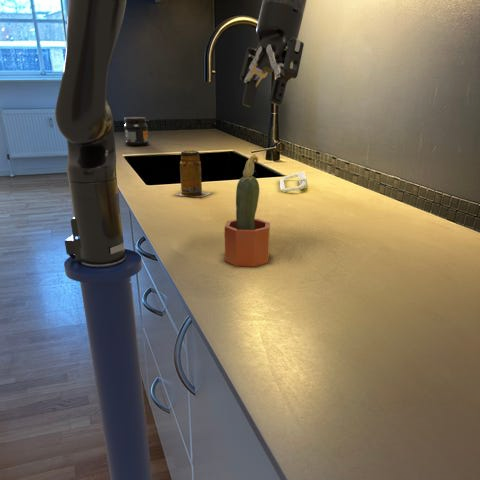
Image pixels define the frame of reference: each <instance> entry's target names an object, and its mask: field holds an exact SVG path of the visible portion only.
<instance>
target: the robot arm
mask: <svg viewBox="0 0 480 480" xmlns="http://www.w3.org/2000/svg"><path fill="white" fill-rule="evenodd" d="M127 1H128V0H68V9H67V22H66V23H67V24H66V46H65V47H66V49H65V59H64V64H63V70H62V71H63V72H62V74H61V80H60V86H59V90H58V95H57V98H56V102H55V108H54V118H55V124H56V126H57V129H58V130H59V132H60V134H61V136H62V137H64V138H65V140H66V143H67V162H66V173H67V179H68V185H69V192H70V199H71V206H72V213H73V217H72V218H71V219H70V227H71V233H72V234H71V235H70V236H68V237H67V238H66V239H65V240H64V247H65V251H66V252H65V254H66V255H68V256H69V257H71V258H72V259H74V258H75V254H76V260H77V264H78V265H83V266H86V267H91V268H106V267H112V266H116V265H119V264H121V263H123V262H124V261H125V260H126V255H125V249H126V248H125V242H124V232H123V223H122V213H121V205H120V196H119V187H118V186H119V185H118V177H117V150H116V149H117V148H116V140H115V138H116V137H115V128H114V127H115V126H114V119H113V113H112V112H113V111H112V109H111V107H110V104H109V102H108V100H107V87H108V78H109V77H108V76H109V69H110V64H111V61H112V57H113V54H114V51H115V48H116V45H117V42H118V40H119V36H120V32H121V29H122V25H123V21H124V18H125V14H126V13H125V12H126V8H127ZM306 4H307V0H262V2H261V7H260V10H259V15H258V20H257V25H256V29H255V31H256V32H255V33H256V35H257V37H258V39H259V42H258V44H257V47H256V48H253V47H251V46H249V47H247V49H246V52H245V56H244V60H243V63H242V67H241V71H240V75H239V80H240V81H242V82H243V83H244V84H245V85H244V90H243V95H242V99H241V100H242V101H241V103H242V105H243V106H245V107H247V108H252V107H254V104H255V100H256V95H257V91H258V85H259V84H260V82H261V81H262V79H265V78H266V77H267V76H268V74H269V73H272V72H274V77H275V78H274V79H273V82H272V86H271V90H270V95H269V103H271V104H273V105H275V106H281V104H282V103H283V100H284V96H285V92H286V87H287V84H289V83H290V81H291V79H296V78H297V77H298V75H299V70H300V65H301V60H302V55H303V52H304V51H303V50H304V47H305V46H304V45H305V44H304V42H303V41H301V40H300V39H298V38H299V34H300V30H301V27H302V26H301V25H302V21H303V17H304V15H305V14H304V13H305V9H306ZM291 63H292V68H291ZM247 72H248V73H247Z"/></svg>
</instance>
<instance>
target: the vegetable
mask: <svg viewBox="0 0 480 480" xmlns="http://www.w3.org/2000/svg"><path fill="white" fill-rule="evenodd" d="M247 159H248V160H246V162H245V166H244V169H243V171H242V177H241V178H239V180H238V181H237V185H236V190H235V191H236V192H235V214H236V215H235V217H236V219H237V229H238V230H255V226H254V222H255V219H256V218H255V217H256V213H257V209H258V204H259V198H260V184H259V180H258V179H257V178H256V177H255V176H253V175H254V174H255V173H254V172H255V163H256V164H257V163H258V162H259V158H258V156H257V155H256V154H255V153H254V154H253V155H250V157H248V158H247ZM236 219H235V220H236Z"/></svg>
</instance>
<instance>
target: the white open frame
mask: <svg viewBox="0 0 480 480" xmlns="http://www.w3.org/2000/svg"><path fill="white" fill-rule="evenodd" d="M293 178H297V179H298V183H299V185H296V186H293V187H286V186H285V181H286V180H290V179H293ZM279 183H280V184H279V185H280V186H279V187H280V191H281V192H282V193H290V192H295V191H298V190H299V191H300V190H303V189H306V188H309V184H308V179H307V175H306V173H305V171H304V170H303V171H299V172H298V171H296V173H293V174H289V175H285V176H283V177H281V178H280V179H279Z"/></svg>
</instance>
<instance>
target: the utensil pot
mask: <svg viewBox="0 0 480 480" xmlns="http://www.w3.org/2000/svg"><path fill="white" fill-rule="evenodd" d="M254 226H255V230H238V229H237V219H232V220H231V219H230V220H227V221H226V223H225V225H224V262H227V263H229V264H231V265H233V266H235V267H254V268H255V267H258V266H261V265H264V264H268V263H269V259H270V238H271V237H270V236H271V235H270V234H271V233H270V232H271V222H269V221H266V220H262V219H260V218H255V222H254Z"/></svg>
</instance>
